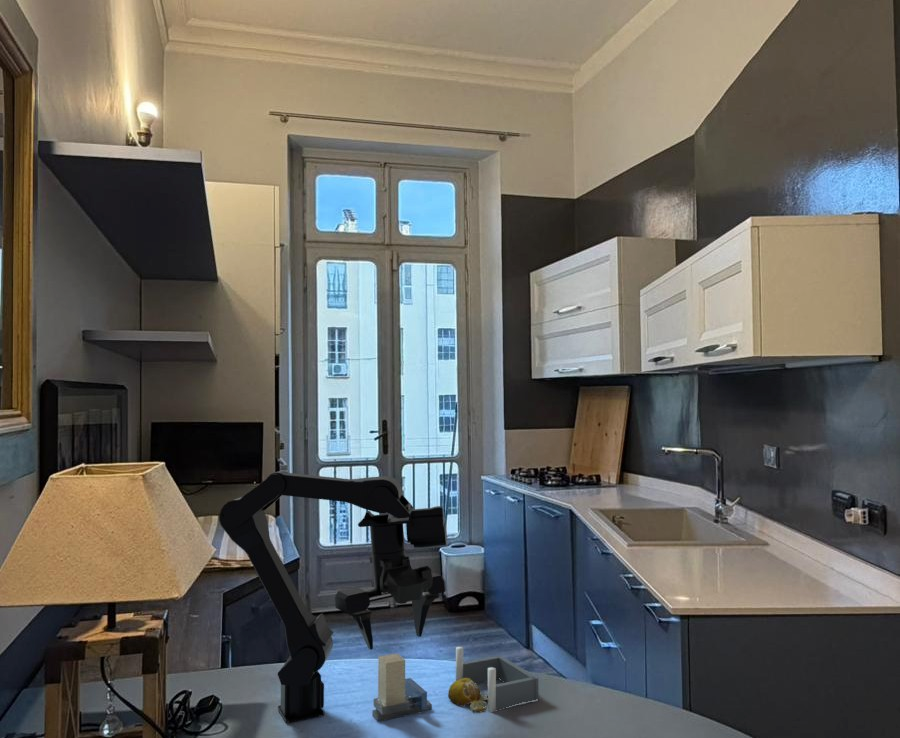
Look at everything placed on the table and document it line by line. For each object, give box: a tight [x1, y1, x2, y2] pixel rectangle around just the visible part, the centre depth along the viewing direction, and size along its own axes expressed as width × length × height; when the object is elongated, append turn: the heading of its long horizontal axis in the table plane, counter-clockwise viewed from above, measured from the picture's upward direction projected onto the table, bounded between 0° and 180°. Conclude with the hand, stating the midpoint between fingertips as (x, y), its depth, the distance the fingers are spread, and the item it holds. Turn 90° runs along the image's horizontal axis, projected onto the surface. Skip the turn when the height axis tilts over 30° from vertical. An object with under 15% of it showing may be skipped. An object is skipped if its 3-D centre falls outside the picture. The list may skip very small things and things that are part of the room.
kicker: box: [373, 653, 428, 715], centre depth 120 cm, size 8×7×8 cm
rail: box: [372, 699, 433, 723], centre depth 120 cm, size 10×2×1 cm, turn 117°
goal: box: [455, 646, 540, 713], centre depth 128 cm, size 10×13×7 cm
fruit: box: [447, 678, 488, 712], centre depth 125 cm, size 8×8×4 cm
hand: (395, 642), depth 120 cm, fingers open, 9 cm apart
